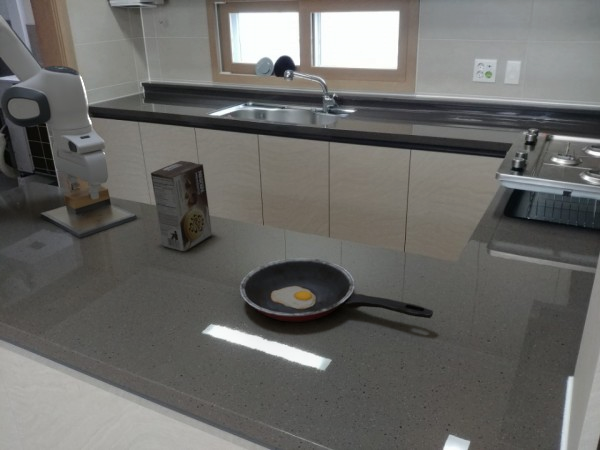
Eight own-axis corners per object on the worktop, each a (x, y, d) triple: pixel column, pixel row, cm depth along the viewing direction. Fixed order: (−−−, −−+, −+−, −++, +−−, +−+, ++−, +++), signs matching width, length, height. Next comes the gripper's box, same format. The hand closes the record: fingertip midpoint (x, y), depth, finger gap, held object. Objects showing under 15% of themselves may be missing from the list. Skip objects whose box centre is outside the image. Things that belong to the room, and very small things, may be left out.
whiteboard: (41, 217, 130) (40, 212, 129) (95, 200, 139) (94, 196, 139) (80, 238, 117) (79, 233, 117) (136, 218, 126) (136, 214, 126)
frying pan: (278, 265, 101) (277, 247, 100) (447, 303, 87) (449, 282, 85) (218, 314, 86) (216, 294, 85) (411, 370, 72) (412, 347, 70)
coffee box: (190, 230, 119) (181, 159, 112) (213, 235, 116) (204, 163, 109) (160, 246, 112) (149, 172, 105) (184, 252, 108) (173, 176, 102)
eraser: (66, 210, 130) (63, 194, 129) (101, 199, 136) (98, 184, 135) (76, 214, 127) (72, 199, 126) (111, 204, 133) (108, 188, 132)
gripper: (41, 134, 130) (53, 188, 135) (81, 148, 117) (92, 207, 122) (67, 129, 134) (77, 182, 139) (108, 142, 121) (117, 199, 126)
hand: (84, 194), depth 130 cm, fingers open, 8 cm apart
